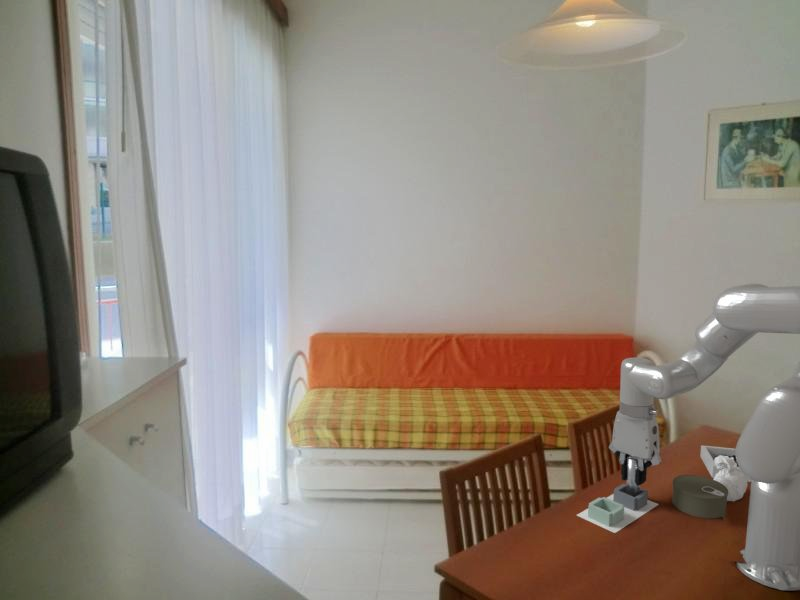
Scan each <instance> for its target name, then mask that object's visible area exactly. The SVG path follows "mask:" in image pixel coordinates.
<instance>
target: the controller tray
mask: <svg viewBox="0 0 800 600" xmlns="http://www.w3.org/2000/svg"><path fill="white" fill-rule="evenodd" d="M735 451H736V448H732V447H722V446H712V445H711V446H710V445H700V454H699V455H700V458H701V460H702V462H703V464H704V465H705V467H706V469H707V471H708V473H709V474H710V477H711V479H714V477H715V475H716V474H717V473H718V472H719V471H720V468H719V469H717V466H716V464H715V461H714V459H715V458H716V457H717V456H718V455H728V456H733V455H735ZM734 471H739V472H742V470H741V469H740V467H736V468H735V470H734ZM742 473H743V472H742ZM743 474H744V473H743ZM744 476H745V478H746V481H747V483H751V482H752V479H750V478H749V477H747V476H746V475H745V474H744Z"/></svg>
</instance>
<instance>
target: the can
mask: <svg viewBox="0 0 800 600" xmlns="http://www.w3.org/2000/svg"><path fill="white" fill-rule="evenodd" d="M713 479H714V478H710V477H706V476H702V475H697V474H696V475H695V474H683V475H682V474H681V475H677V476H675V477H674V478H673V479H672V499H671V500H672V504H673V505H674V507H675V508H677V509H678V510H679V511H681V512H682V513H685V514H687V515H690V516H693V517H695V518H700V519H701V518H702V519H710V520H711V519H714V520H715V519H719V518H722V520H723V521H725V520H726V511H727V504H728V501H727V496H728V489H727V488H726V487H725V486H724V485H723V484H721V483H720V482H718V481H715V480H713Z"/></svg>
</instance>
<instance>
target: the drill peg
mask: <svg viewBox="0 0 800 600" xmlns="http://www.w3.org/2000/svg"><path fill="white" fill-rule="evenodd" d="M637 469H639V465H638V457H635V456H632V455H630V456H628V457H627V480H626V484H627V485H626V494H628V495H631V496H633V497H636V496H637V495H639V491H640V488H641V487H640V486H641V485H639V486H638V485H636V470H637Z"/></svg>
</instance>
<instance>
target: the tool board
mask: <svg viewBox="0 0 800 600" xmlns="http://www.w3.org/2000/svg"><path fill="white" fill-rule="evenodd" d="M626 485H627V483H626V484H625V483H622V484H620V485H618V486H617V487H615V488H614V489H613V493H612V494H610V495H608V496H607V497H606V496H603V497H600V496H599V497H597V498H596V499H594V500H592V501H591V502H588V505H587V506H588V508H586V509H584V510H583V511H581V512H580V513H577V514H576V516H577V517H579V518H581V519H583V520H585V521H587V522H590V523H592V524H594V525H597V526H598V527H601V528H603V529H604V530H607V531H610V532H611V533H614V534H616V533H618V532H619V531H621V530H622V529H623V528H625V527H626V526H628V525H629V524H632V523H633V522H635V521H636V520H638V519H639V518H640V517H642V516H644V515H645V514H646V513H648V512H650V511H651V510H653V509H654V508H656V507H657V506H659V503H657V502H654V501H651V500H649V499H648V497H649V494H648V493H649V491H648V490H647V489H644V488H641V487H640V491H639V495H637V496H636V497H633V496H631V495H628V494H626Z"/></svg>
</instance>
